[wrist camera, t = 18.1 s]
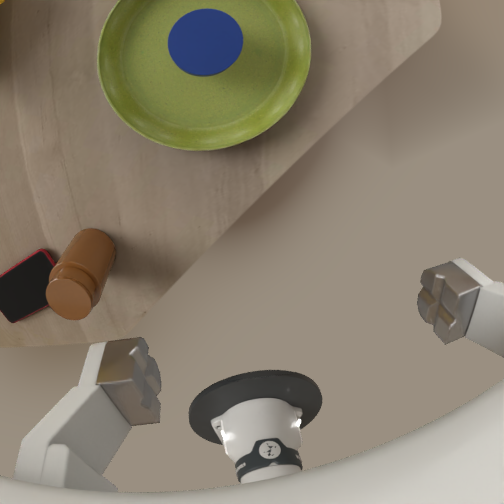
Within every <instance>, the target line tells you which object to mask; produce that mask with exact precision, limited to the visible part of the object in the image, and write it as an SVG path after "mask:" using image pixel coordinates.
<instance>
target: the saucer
mask: <svg viewBox="0 0 504 504" xmlns="http://www.w3.org/2000/svg"><path fill="white" fill-rule="evenodd" d="M206 8H208V9H217V10H220V11H223V12H225V13H227V14H228V15H230V16H231V17H233V18H234V19H235V20H236V22H237V23H238V24H239V26H240V28H241V30H242V34H243V47H242V51H241V53H240V55H239V57H238V58H237V60H236V61H235V62H234V63H233V64H232V65H231V66H230V67H229V68H227V69H226V70H225V71H223V72H221V73H219V74H217V75H214V76H209V77H198V76H193V75H190V74H187V73H185V72H184V71H182V70H181V69H180V68H179V67H178V66H177V65H176V64H175V63H174V61H173V60H172V58H171V56H170V54H169V51H168V36H169V33H170V31H171V29H172V27H173V25H174V24H175V23H176V22H177V21H178V20H179V19H180V18H181V17H182V16H184V15H185V14H187V13H189V12H191V11H194V10H198V9H206ZM310 62H311V39H310V33H309V28H308V25H307V22H306V19H305V17H304V15H303V13H302V10H301V9H300V7H299V5H298V4H297V2H296V1H295V0H118V2H117V3H116V4H115V6H114V7H113V8H112V10H111V12H110V13H109V15H108V17H107V19H106V21H105V23H104V25H103V28H102V31H101V34H100V38H99V42H98V48H97V70H98V76H99V81H100V84H101V87H102V90H103V93H104V95H105V97H106V99H107V101H108V103H109V104H110V106H111V107H112V109H113V110H114V111H115V113H116V114H117V115H118V116H119V117H120V119H121V120H122V121H123V122H124V123H125V124H127V125H128V126H129V127H130V128H131V129H133V130H134V131H135V132H137V133H138V134H140V135H142V136H144V137H145V138H147V139H149V140H151V141H153V142H156V143H158V144H161V145H164V146H168V147H171V148H176V149H181V150H190V151H206V150H216V149H222V148H227V147H231V146H234V145H237V144H240V143H243V142H245V141H247V140H250V139H252V138H254V137H256V136H258V135H259V134H261V133H263V132H264V131H266V130H267V129H269V128H270V127H271V126H273V125H274V124H275V123H276V122H278V121H279V120H280V119H281V118H282V117H283V116H284V115H285V114H286V113H287V112H288V111H289V109H290V108H291V107H292V105H293V104H294V103H295V101H296V100H297V98H298V96H299V94H300V93H301V91H302V88H303V86H304V84H305V82H306V79H307V76H308V72H309V68H310Z"/></svg>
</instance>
